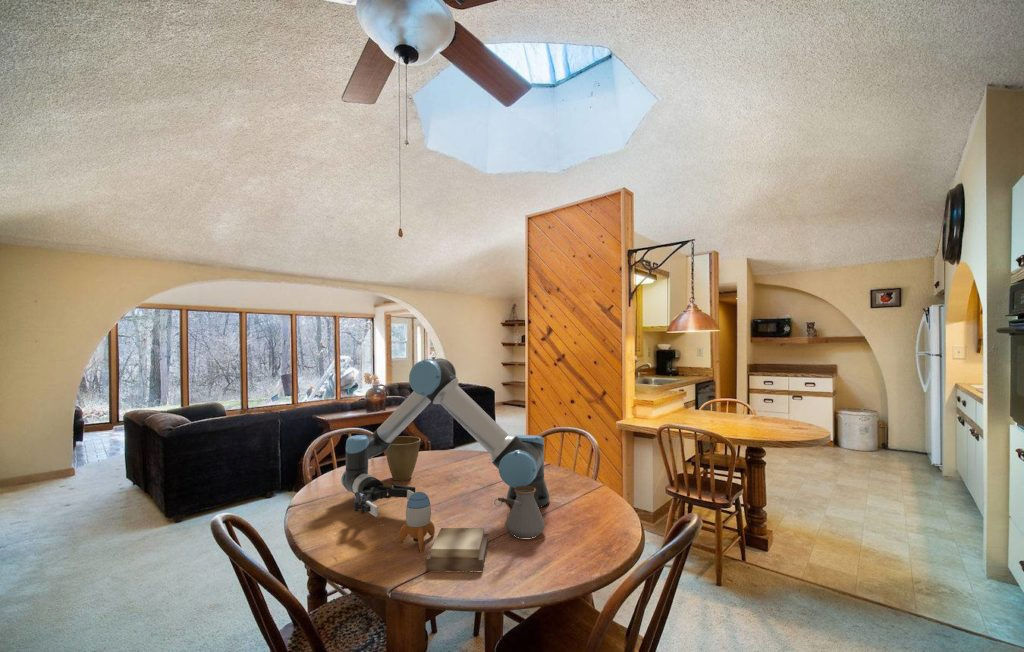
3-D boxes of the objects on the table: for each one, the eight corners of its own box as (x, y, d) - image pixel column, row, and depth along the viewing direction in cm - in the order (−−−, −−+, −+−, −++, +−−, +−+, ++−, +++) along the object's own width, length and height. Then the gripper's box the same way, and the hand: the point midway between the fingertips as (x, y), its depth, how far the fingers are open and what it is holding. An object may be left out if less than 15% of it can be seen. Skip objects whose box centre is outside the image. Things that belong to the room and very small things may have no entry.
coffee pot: (518, 522, 131) (517, 473, 131) (551, 530, 125) (550, 479, 125) (479, 551, 112) (479, 495, 113) (516, 562, 106) (516, 502, 107)
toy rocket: (429, 556, 112) (417, 503, 111) (393, 560, 114) (381, 507, 113) (442, 534, 122) (431, 485, 121) (409, 537, 124) (398, 489, 123)
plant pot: (377, 483, 169) (377, 443, 170) (393, 472, 184) (393, 435, 185) (412, 484, 167) (412, 444, 168) (425, 473, 181) (425, 436, 182)
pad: (488, 545, 116) (488, 526, 116) (482, 572, 102) (482, 551, 102) (438, 544, 116) (438, 526, 117) (426, 571, 102) (426, 550, 103)
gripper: (401, 490, 149) (433, 507, 133) (330, 509, 132) (357, 530, 117) (402, 469, 149) (434, 483, 134) (330, 485, 132) (357, 503, 117)
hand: (398, 505), depth 125 cm, fingers open, 13 cm apart
